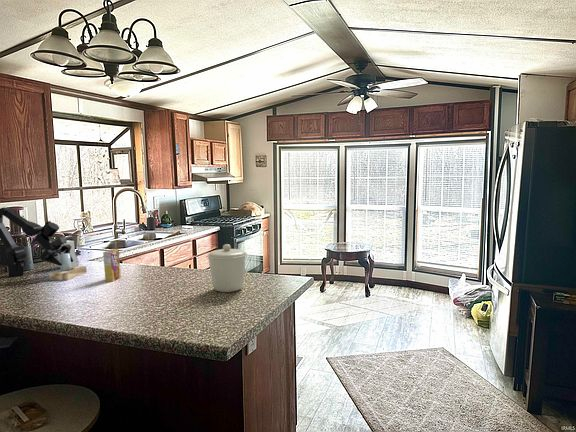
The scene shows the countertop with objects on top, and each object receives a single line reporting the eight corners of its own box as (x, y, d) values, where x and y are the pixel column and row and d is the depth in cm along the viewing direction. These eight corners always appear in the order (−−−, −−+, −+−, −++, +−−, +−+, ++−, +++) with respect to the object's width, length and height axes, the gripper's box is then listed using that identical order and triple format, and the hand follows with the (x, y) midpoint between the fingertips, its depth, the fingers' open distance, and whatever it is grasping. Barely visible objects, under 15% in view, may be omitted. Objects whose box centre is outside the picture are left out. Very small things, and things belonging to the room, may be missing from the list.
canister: (240, 296, 174) (239, 248, 172) (201, 294, 178) (200, 247, 176) (252, 284, 192) (251, 241, 189) (216, 283, 195) (215, 240, 193)
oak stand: (49, 279, 207) (49, 273, 207) (69, 272, 223) (69, 266, 223) (68, 280, 206) (67, 273, 206) (86, 272, 222) (86, 266, 222)
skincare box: (76, 266, 238) (74, 240, 236) (65, 269, 232) (63, 242, 230) (68, 265, 242) (67, 239, 240) (57, 267, 236) (55, 241, 235)
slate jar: (62, 277, 211) (60, 255, 210) (60, 276, 215) (58, 254, 214) (72, 276, 214) (70, 254, 213) (70, 274, 218) (69, 252, 217)
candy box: (113, 277, 211) (111, 248, 209) (121, 277, 210) (119, 248, 209) (104, 281, 202) (102, 251, 200) (112, 281, 201) (111, 251, 200)
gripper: (43, 234, 204) (65, 256, 204) (67, 229, 222) (87, 249, 222) (30, 250, 205) (51, 271, 205) (54, 244, 224) (74, 263, 224)
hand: (67, 263), depth 214 cm, fingers open, 9 cm apart
